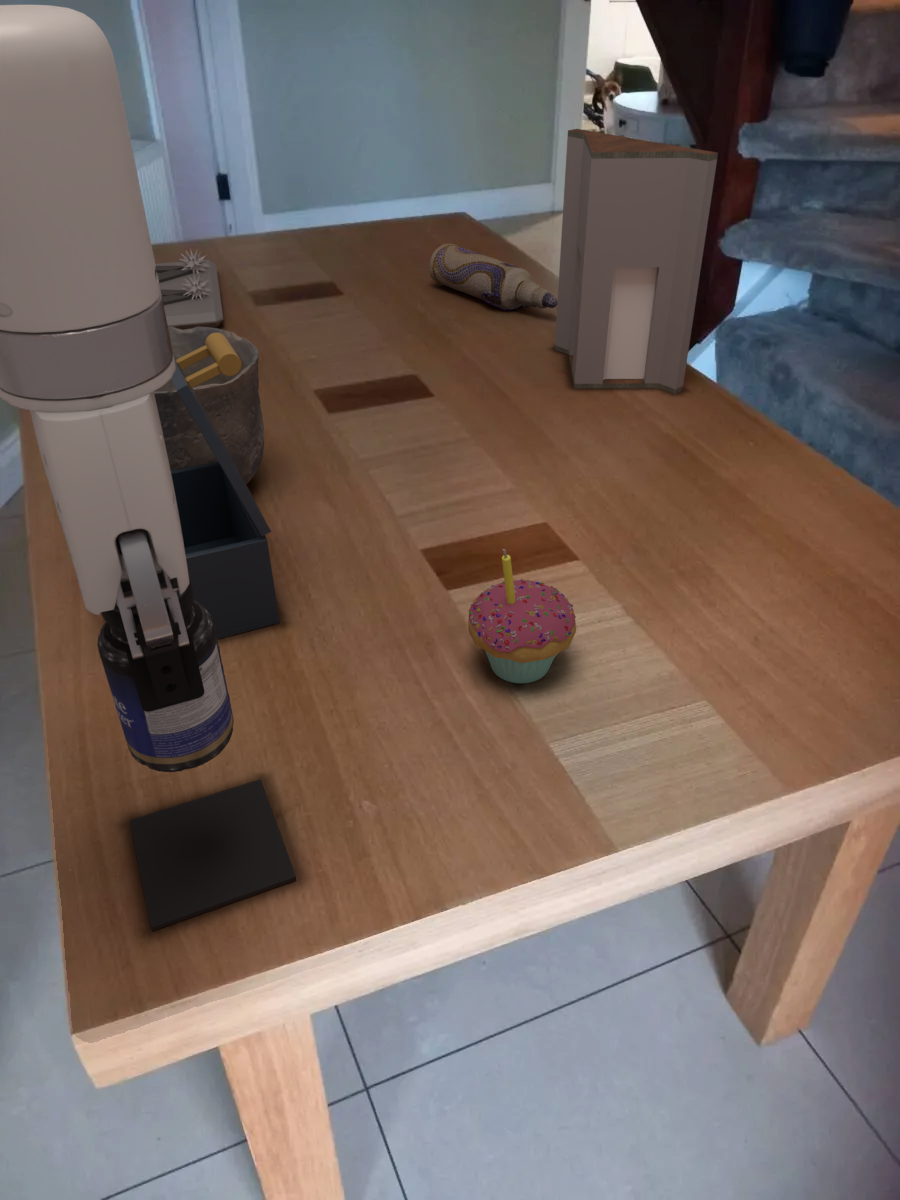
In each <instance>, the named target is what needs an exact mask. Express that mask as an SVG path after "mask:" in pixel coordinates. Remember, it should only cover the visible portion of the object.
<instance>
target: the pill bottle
mask: <svg viewBox="0 0 900 1200" xmlns="http://www.w3.org/2000/svg"><path fill="white" fill-rule="evenodd" d="M161 569H162V568H161ZM188 575H189V574H188ZM157 577H158V580H159V584H162V583H165V580H164V576H163V572H162V573H160V574H157ZM120 583H121V587H122V590H123V593H124V592H128V591H132V589H131V585H130V581H126V582H120ZM177 596H178V600H179V604H180V608H181V612H182V615H183V619H184V623H185V627H186V631H187V632H189V631H190V632H191V635H192V638H193V643H194V647H195V651H196V656H197V660H198V664H199V669H200V673H201V678H202V682H203V686H204V695H203V696H202V697H200V698H198V699H194V700H191V701H187V702H183V703H180V704H176V705H173V706H169V707H166V708H162V709H158V710H155V711H151V712H146V711H144V710H143V709H142V707H141V703H140V700H139V696H138V693H137V689H136V686H135V682H134V679H133V675H132V672H131V668H130V665H129V661H128V658H127V654H126V650H125V648H126V647H130V646H129V643H128V639H127V635H126V632H125V628H124V624H123V621H122V617H121V613H120V610H119V607H118V606H117V603H116V604H115V608H114V610H110V611H105V612H101V616H102V618H103V619H104V623H103V624H102V626H101V628H100V630H99V633H98V637H97V648H98V653H99V657H100V660H101V663H102V667H103V670H104V673H105V677H106V680H107V683H108V686H109V687H108V688H109V689H110V693H111V696H112V700H113V703H114V706H115V710H116V713H117V716H118V719H119V723H120V725H121V729H122V732H123V735H124V738H125V743H126V745H127V748H128V750H129V753H130V754H131V757H132V758H133V759H134V760H135V761H136V762H137V763H139V764H140V765H142V766H147V767H148V768H149V769H150V770H153V771H156V772H162V773H178V772H183V771H186V770H192V769H196V768H198V767H200V766H203V765H204V764H206V763H209V762H210V761H211V760H213V759H215V758H216V757H218V756H219V755H220V754H221V753H222V752H223V751H224V749H226V748H227V747H226V746H227V745H228V744H229V743H230V740H231V738H232V736H233V732H234V714H233V710H232V703H231V697H230V693H229V690H228V685H227V680H226V675H225V670H224V665H223V660H222V654H221V649H220V646H219V642H218V639H217V636H216V629H215V626H214V622H213V619H212V617H211V615H210V613H209V612H208V610H207V609H206V608H204V607H203V606H202V605H201V604H200V603H198V602H197V601H194V590H193V587H192V583H191V580H190V576H189V585H188V587H187V588H186V590H185V591H184V592H183V593H182V594H181V595H180V594H179V592H178V590H177ZM164 602H165V606H166V609H167V613H168V617H169V618H170V617H171V616H170V612H169V608H168V604H167V600H166V599H165V600H164ZM131 611H132V615H133V618H134V622H135V626H136V629H137V626H138V625H141V622H140V618H139V614H138V611H137V607H132V608H131Z"/></svg>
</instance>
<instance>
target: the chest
mask: <svg viewBox="0 0 900 1200" xmlns="http://www.w3.org/2000/svg"><path fill="white" fill-rule="evenodd" d="M171 475H172V480H173V486H174V491H175V496H176V502H177V507H178V513H179V519H180V524H181V530H182V536H183V542H184V549H185V555H186V561H187V568H188V574H189V576H190V580H191V583H192V587H193V590H194V601H197V602H198V603H200V604H201V605H202V606H203V607H204V608H206V609H207V610H208V612H209V613H210V615H211V617H212V619H213V622H214V626H215V629H216V636H217V640H220V639H224V638H228V637H231V636H235V635H238V634H243V633H246V632H247V633H248V632H250V631H254V630H258V629H262V628H265V627H270V626H273V625H277V624H281V621H280V615H279V607H278V601H277V593H276V587H275V582H274V574H273V568H272V562H271V555H270V554H271V553H270V549H269V543H268V542H269V541H268V538H267V536H266V535H264V536H261V534H260V533H259V531H258V529H257V527H256V526H255V524H254V522H253V521H252V519H251V517H250V515H249V514H248V512H247V510H246V509H245V507H244V505H243V503H242V502H241V500H240V498H239V497H238V495H237V493H236V491H235V490H234V488H233V486H232V485H231V483H230V481H229V479H228V478H227V476H226V474H225V473H224V471H223V469H222V467H221V466H220V464H219V462H218V461H217V462H212V463H207V464H202V465H197V466H192V467H187V468H182V469H177V470H172V471H171Z"/></svg>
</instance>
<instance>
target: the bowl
mask: <svg viewBox="0 0 900 1200" xmlns="http://www.w3.org/2000/svg"><path fill="white" fill-rule="evenodd" d="M168 330H169V335H170V340H171V345H172V350H173V355H174V356H175V358H176V360H177V359H179V358H181V357H183V356H185V355H187V354H189V353H191V352H193V351H195V350H197V349H199V348H201V347H203V346H205V341H206V338H207V337H208V336H209V335H210V334H212V333H221V334H223V335H224V336H225V337H226V339H227V340H228V342H229V343H230V345H231V346H232V348H233V349H234V350H235V352H236V353H237V355H238V356H239V358H240V360H241V363H242V366H241V369H240V371H239V372H238V373H237V374H236V375H233V376H226V375H224V374H222V373H221V374H219V375H217V376H215V377H213V378H211V379H209V380H207V381H205V382H203V383H201V384H199V385H197V386H195V387H193V390H194V392H195V393H196V395H197V397H198V399H199V400H200V402H201V404H202V406H203V407H204V409H205V411H206V413H207V414H208V416H209V418H210V420H211V421H212V423H213V425H214V427H215V428H216V430H217V432H218V434H219V436H220V437H221V439H222V441H223V443H224V444H225V446H226V448H227V450H228V451H229V453H230V455H231V457H232V459H233V461H234V463H235V464H236V466H237V468H238V470H239V472H240V474H241V476H242V478H243V480H244V481H245V483H246V485H248V483H250V482H251V480H252V479H253V477H254V476H255V474H256V472H257V470H258V469H259V468H260V467H259V466H260V464H261V462H262V459H263V455H264V449H265V426H264V425H265V424H264V417H263V413H262V408H261V397H260V393H259V388H260V378H259V359H260V352H259V349H258V348H257V347H256V345H255V344H253V343H252V342H251V341H249V340H248V339H247V338H246V337H241V336H239V335H238V334H236V332H235V333H234V332H233V331H228V330H225V329H221V328H218V327H211V328H210V327H199V326H198V327H195V328H193V329H185V330H181V329H177V328H174V327H168ZM214 363H215V362H214V360H213V359H212V357H211V355H210V356H208V357H206V358H204V359H202V360H200V361H198V362H196V363H194V364H192V365H190V366H188V367H186V368H184V369H182V370H183V372H184V374H185V376H186V377H188V376H190V375H192V374H194V373H196V372H198V371H200V370H202V369H204V368H206V367H208V366H210V365H212V364H214ZM154 395H155V399H156V404H157V409H158V413H159V418H160V422H161V427H162V432H163V437H164V441H165V446H166V451H167V456H168V461H169V466H170V471H172V470H177V469H182V468H187V467H192V466H197V465H202V464H207V463H212V462H217V459H216V457H215V455H214V454H213V452H212V450H211V449H210V447H209V445H208V443H207V442H206V440H205V438H204V437H203V435H202V433H201V431H200V430H199V428H198V426H197V425H196V423H195V421H194V419H193V418H192V416H191V414H190V412H189V411H188V409H187V407H186V406H185V404H184V402H183V400H182V399H181V397H180V395H179V394H178V392H177V390H176V388H175V386H174V384H173V382H172V380H171V379H170V380H169V381H168V382H167V383H166V384H165V385H163V386H162V387H160V388H159V389H157V390H155V391H154Z"/></svg>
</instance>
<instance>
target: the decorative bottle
mask: <svg viewBox="0 0 900 1200" xmlns="http://www.w3.org/2000/svg"><path fill="white" fill-rule="evenodd" d="M428 270H429V271H428V272H429V276H430V278H431V279H432V280H433V282H435V283H436V284H438V285H441V286H445V287H448V288H450V289H453V290H455V291H458V292H462V293H464V294H466V295H470V296H471V297H474V298H476V299H480V300H483V302H485V303H486V304H489V305H490V306H493V307H496V308H498V309H501V310H503V311H512V310H518V309H520V308H528V307H529V308H530V307H533V308H538V309H542V310H543V309H547V308H549V309H554V308H557V302H558V299H557V298H556V297H555V295H554V294H552V292H551V291H550V290H548V289H547V288H542V287H541V286H540V285H539V284H537V283H536V282H535V281H533V279H532V275H531V273H530V272H529V271H527V269H524V268H523V267H519V266H517V265H515V264H511V263H508V262H505V261H503V260H500V259H497V258H494V257H490V256H488V255H484V254H481V253H480V252H479V253H478V252H476V251H473V250H470V249H467V248H464V247H462V246H458V245H456V244H454V243H444V244H442V245H440V246H438V247H437V248H436V249H435V250H434V251H433V252H432V253H431V256H430V258H429V263H428Z"/></svg>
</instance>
